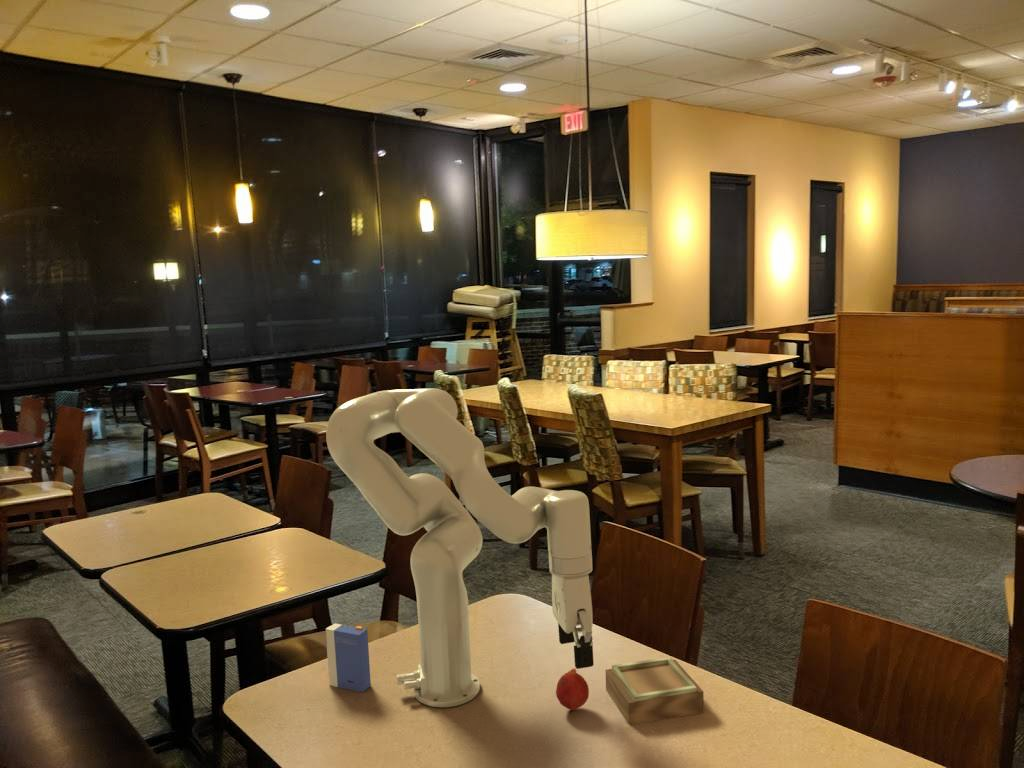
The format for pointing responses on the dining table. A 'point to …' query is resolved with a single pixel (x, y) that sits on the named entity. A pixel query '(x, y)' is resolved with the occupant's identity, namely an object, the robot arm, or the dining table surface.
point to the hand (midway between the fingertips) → (576, 654)
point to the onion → (572, 690)
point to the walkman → (348, 657)
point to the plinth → (653, 690)
